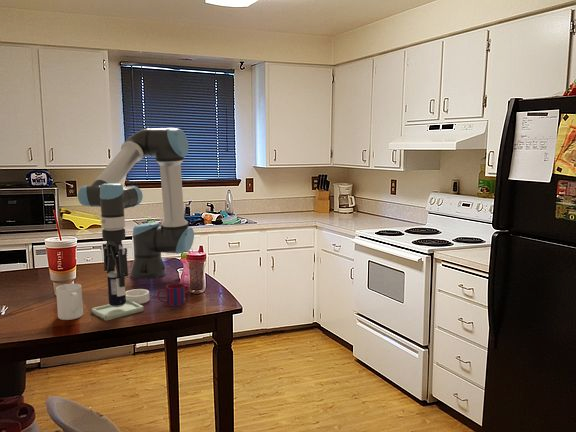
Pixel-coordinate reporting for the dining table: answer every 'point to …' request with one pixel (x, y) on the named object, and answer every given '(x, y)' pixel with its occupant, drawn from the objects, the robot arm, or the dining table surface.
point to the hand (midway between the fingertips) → (117, 293)
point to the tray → (117, 310)
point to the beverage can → (114, 291)
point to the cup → (174, 294)
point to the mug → (69, 301)
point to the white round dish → (138, 295)
